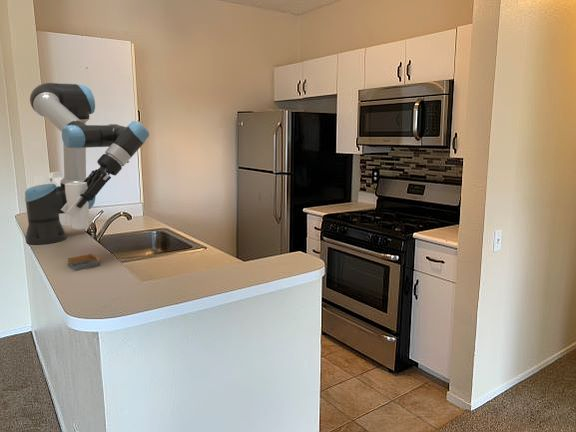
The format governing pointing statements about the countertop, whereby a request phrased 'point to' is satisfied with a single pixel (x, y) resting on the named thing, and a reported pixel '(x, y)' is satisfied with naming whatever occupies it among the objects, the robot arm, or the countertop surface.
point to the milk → (56, 179)
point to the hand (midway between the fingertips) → (67, 213)
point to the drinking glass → (72, 196)
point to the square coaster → (83, 262)
